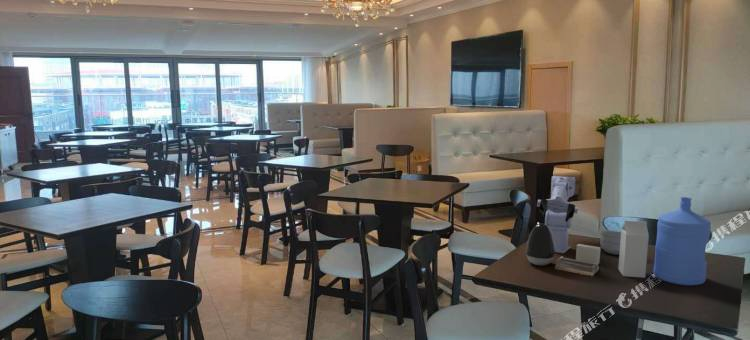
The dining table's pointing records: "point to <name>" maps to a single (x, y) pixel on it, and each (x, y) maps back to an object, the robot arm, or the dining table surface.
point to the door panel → (588, 253)
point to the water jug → (681, 246)
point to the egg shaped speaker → (540, 246)
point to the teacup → (610, 241)
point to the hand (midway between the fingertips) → (555, 217)
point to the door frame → (576, 266)
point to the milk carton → (633, 249)
